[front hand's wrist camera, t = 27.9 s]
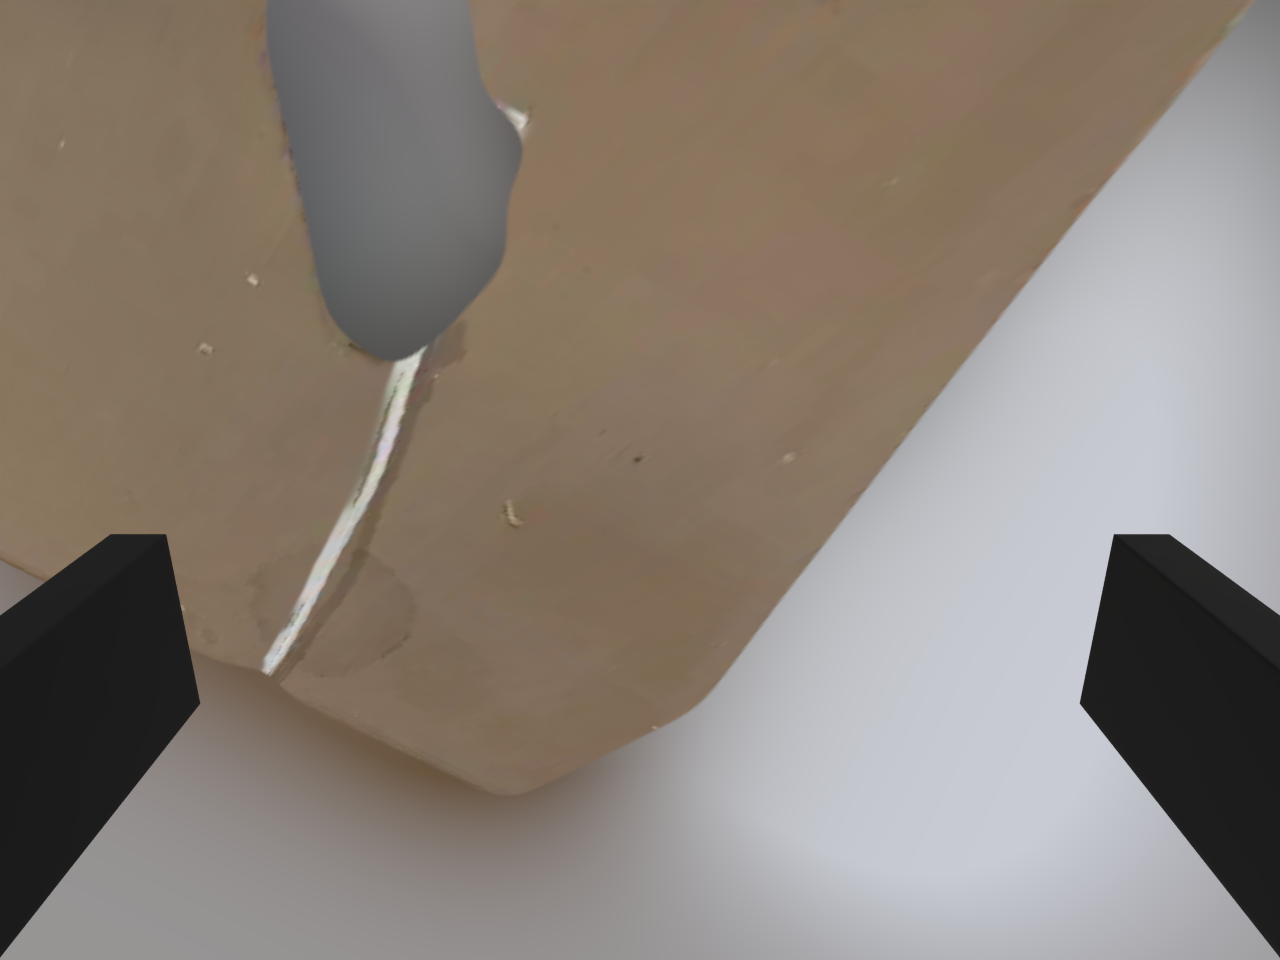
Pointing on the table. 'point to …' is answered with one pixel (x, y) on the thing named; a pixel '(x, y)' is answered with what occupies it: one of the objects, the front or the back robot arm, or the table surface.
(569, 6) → the table surface
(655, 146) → the table surface
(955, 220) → the table surface
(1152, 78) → the table surface
